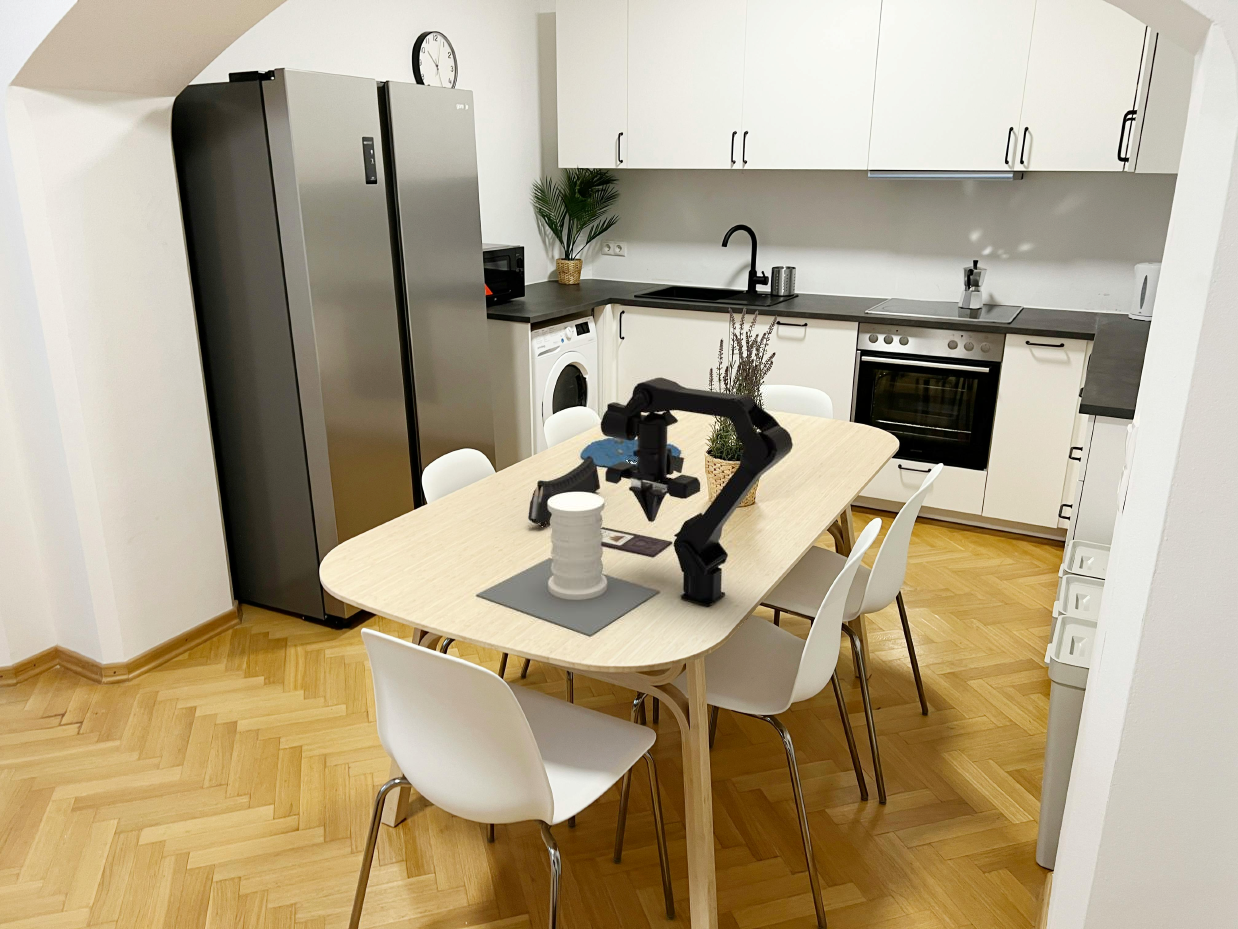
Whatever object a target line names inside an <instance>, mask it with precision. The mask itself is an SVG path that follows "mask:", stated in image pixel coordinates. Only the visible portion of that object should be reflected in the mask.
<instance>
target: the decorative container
mask: <svg viewBox="0 0 1238 929" xmlns="http://www.w3.org/2000/svg"><path fill="white" fill-rule="evenodd" d="M605 506H606V505H605V499H604V497H602V496H601V495H598V494H597V493H594V494H593V493H587V492H568V493H562V494H558V495H555V496H553V497H551V498H550V499H549V500H548V510H549V511H550V512H551V513H552V516H551V518H550V522H549V524H550V527H551V533H550V536H549V537H550V542H551V545H552V547H551V550H550V555H551V558H552V559H553V563H552V566H551V570H552V573H553V576H552V577H551V578H550V579H549V581H548V589H549V592H550V593H551V594H552V595H554V596H556V597H559V598H562V599H567V600H586V599H591V598H594V597H597V596H599V595H601V594H603V593H604V592H605V591H606V589H607V579H606V577H605V576H604V575H602V574H603V571H604V564H603V560H602V558H603V554H604V549H603V548H604V547H602V546H601V542H602V539H603V534H602V531H601V528H602V527H603V521H604V520H603V516H602V511H604V509H605ZM601 573H602V574H601Z"/></svg>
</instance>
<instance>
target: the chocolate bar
mask: <svg viewBox="0 0 1238 929" xmlns="http://www.w3.org/2000/svg"><path fill="white" fill-rule="evenodd" d="M601 531H602V534H603V539H602V542H601V546H602V548H608V549H611V550H616V551H620V552H624V553H625V552H626V553H629V554H634V555H635V554H636V555H638V556H644V557H649V558H655V557H656V556H658V555H659V554H661V553H662V552H663V551H664V550H666V549H667V548H669V547H670V546H671V545H673V541H672V540H667V539H661V538H658V537H652V536H646V535H642V534H638V533H633V532H629V531H623V530H619V529H613V528H609V527H604V526H601Z"/></svg>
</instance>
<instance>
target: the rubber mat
mask: <svg viewBox="0 0 1238 929" xmlns="http://www.w3.org/2000/svg"><path fill="white" fill-rule="evenodd" d="M552 563H553V558H552V557H549V558H547V559H544V560H543V561H540V562H538V563H536V564H534V565H532V566H530V567H528V568H526V569H525V570H522V571H520V572H518V573H516V574H514V575H512V576H511V577H509V578H506V579H504V580H502V581H501V582H498V583H497V584H494V585H493V586H490V587H489V588H487V589H485V590H482V591H480V592H479V593H478V592H477V593H476V594H475V596H476V597H478V598H481V599H483V600H487V601H490V602H492V603H495V604H498V605H501V606H502V607H506V608H509V609H512V610H515V611H517V612H520V613H523V614H526V615H527V616H528V615H529V616H531V617H535V618H538V619H541V620H543V621H546V622H548V623H551V624H553V625H557V626H560V627H562V628H566V629H568V630H571V631H573V632H577V633H578V634H579V633H580V634H582V635H586V636H587V637H592V636H593V635H595V634H596V633H598V632H600V631H602V630H603V629H604V628H606V627H608V626H609V625H611V624H612V623H614V622H616V621H617V620H619V619H620V618H622V617H623V616H625V615H627V614H628V613H629V612H631V611H633V610H634V609H636V608H637V607H639V606H641V605H642V604H644V603H645V602H648V600H650V599H652V598H653V597H655V596H656V595H658V594H660V590H657V589H653V588H650V587H649V586H648V587H647V586H644V585H642V584H639V583H638V584H637V583H635V582H631V581H628V580H625V579H620V578H618V577H615V576H611V575H608V574H606V573H603V572H602V573H601V574H602V575H604V576H605V577H606V579H607V589H606V591H605V592H604V593H603V594H601V595H599V596H597V597H594V598H591V599H586V600H567V599H562V598H559V597H556V596H554V595H552V594H551V593H550V592H549V589H548V581H549V579H550V578H551V577H552V576H553V573H552V570H551V566H552Z"/></svg>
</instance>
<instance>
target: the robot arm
mask: <svg viewBox="0 0 1238 929" xmlns="http://www.w3.org/2000/svg"><path fill="white" fill-rule="evenodd" d="M631 395H632V396H631V397H630V398H629V399H628V401H627V403H626V404H621V403H620V402H616V401H615V402H614V401H613V402H610V403H607V408H606V410H605V411H604V413H603V415H602V419H601V421H600V430H601V433H602V434H603V436H605V437H607V438H618V439H623V440H628V441H632V440H634V439H637V450H635V451H633V456H635V457H637V466H636V465H635V464H630V463H626V462H620V463H617V464H615V465H612V466H610V467H608V466H607V469H606V470H605V475H604V478H605V482H607V483H612V484H619V483H620V482H621V481H622V479H627V480H629V481H631V482H630V485H631V486H629V487H628V491H630V492H632V494H633V495H634V497H635V499H636V500H637V502H638V503H639V505H640V507H641V508H642V509H641V510H642V512H643V514H644V515H645V517H646V519H647V521H648V522H649V523H654V521H655V520H656V519H657V517H658V516H657V515H658V513H659V510H660V508H661V505H662V503H663V501H664V499H665V497H666V495H669V496H670V497H673V498H676V499H677V498H678V499H681V500H683V499H688V498H690V497H691V496H693V495H696V494H698V493H699V492H701V482H700V480H699V479H698V478H699V477H696V476H691V475H687V474H682V471H683V467H684V462H685V457H682V456H679V455H678V456H673V455H672V451H671V448H667V444H668V427H669V426H672V425H675V424H677V423H678V422H679V420H678V419H677V418H676V416H675V415H673V414H672V411H679V412H685V413H694V414H700V415H706V416H711V417H712V416H713V417H718V418H719V417H720V418H726V419H728V420H730V422H731V423H732V426H733V428H734V431H735V434H736V436H737V439H738V441H739V442H740V443H741V445H742V446H743V447H744V448H743V450H742V451H741V455H740V460H739V465H738V467H737V468H736V470H734V472H733V473H732V475H731V476H730V478H729V479H728V480H727V481H726V482H725V484H724V486H723V487H722V489H721V490H720V491H719V492H718V494H717V495H716V496H715V498H714V499H713V501H712V502H711V503H710V504H709V506H708V507H707V509H706V510H705V511H704V513H703V512H699V513H698V514H696V515H694V516H692V517H690V518H688V519H686V520H685V521H684V522H683V523H682V525H681V528H680V529H679V531H678V532H677V533H675V534H673V536H674V538H675V539H674V541H673V543H672V545H673V548H674V552H675V554H676V556H677V560H678V564H679V567H680V570H681V572H682V573H683V577H682V578H683V582H682V583H683V584H682V590H683V592H684V593H682V594H681V595H680V599H682V600H685V601H688V602H691V603H694V604H698V605H701V606H703V607H711V606H712V605H714V604H715V603H716V602H718V601H719V600H721V599H722V598H723V596H724V597H725V596H726V592H724V591H722V576H723V575H722V573H723V572H722V571H723V568H721V567H720V566H721V565H723V564H725V563H726V562H727V560H728V556H729V554H728V552H727V550H726V549H724V547H723V545H722V544H721V543H720V539H721V537H722V531H723V527H724V526H725V524H726V522H727V521H728V520H729V519H730V517H731V516H732V515H733V514H734V512H735V511H736V510H737V509H738V507H739V506H740V504H741V503H742V502H743V500H745V498H746V497H747V496H748V494H749V493H750V491H751V490H752V489H753V488H754V486H756V484H757V482H759V480H760V479H761V477H762V476H763V475H764V474H765V473H766V472H768V471H769V470H771V469H772V468H773V467H774V466H776V465H777V464H778V463H779V462H781V461H782V460H783V459H784V458H785V457H787V455H789V454H790V453H791V451H792V450H793V445H794V444H793V439H792V437H791V436H792V435H791V434H790V433H789V431H788V430H787V429H786V428H784V427H783V426H781V425H780V423H779V422H778V421H777V419H776V418H775V417H774V416H773V415H771V414H770V413H769V412H767V411H766V410H765V409H763V407H760V405H759V404H758V403H757V402H756V401H755V399H754V398H753V397H752V396H750V395H748V394H745V393H742V394H735V393H728V392H721V391H720V392H719V391H712V390H704V389H698V388H689V387H685V386H683V385H680V384H679V383H677V381H674V380H671V379H667V378H665V377H655V378H651V379H647V380H646V381H641V382H639V383H637V384H636V385H635V386H634V388H633V390H632V394H631ZM642 413H644V414H642ZM755 428H757V429H755ZM757 430H759V432H758V431H757ZM674 472H676V473H678V474H680V475H678V476H676V477H674V478H673V477H670V476H671V475H673V474H674ZM668 476H669V477H668Z"/></svg>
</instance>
